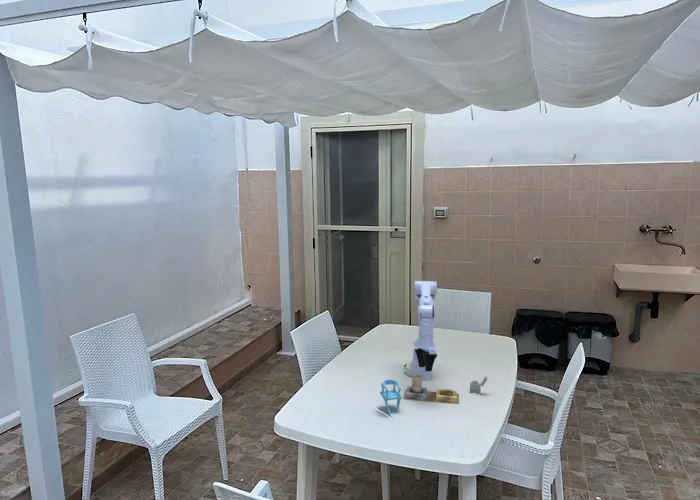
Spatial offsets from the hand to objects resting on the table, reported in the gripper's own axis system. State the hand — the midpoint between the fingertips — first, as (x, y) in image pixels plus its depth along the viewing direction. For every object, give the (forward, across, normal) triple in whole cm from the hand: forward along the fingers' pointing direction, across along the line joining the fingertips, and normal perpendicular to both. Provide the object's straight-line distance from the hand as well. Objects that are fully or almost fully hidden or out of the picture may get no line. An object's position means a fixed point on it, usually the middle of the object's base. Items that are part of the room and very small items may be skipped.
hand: (425, 369), depth 200 cm
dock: (+13, -3, +4) cm, 14 cm away
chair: (+15, +4, -15) cm, 22 cm away
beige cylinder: (+12, -5, -2) cm, 13 cm away
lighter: (+12, -4, +25) cm, 28 cm away
